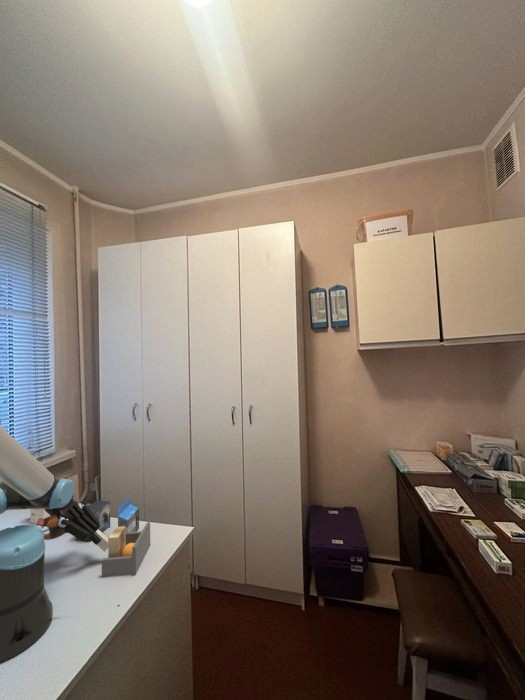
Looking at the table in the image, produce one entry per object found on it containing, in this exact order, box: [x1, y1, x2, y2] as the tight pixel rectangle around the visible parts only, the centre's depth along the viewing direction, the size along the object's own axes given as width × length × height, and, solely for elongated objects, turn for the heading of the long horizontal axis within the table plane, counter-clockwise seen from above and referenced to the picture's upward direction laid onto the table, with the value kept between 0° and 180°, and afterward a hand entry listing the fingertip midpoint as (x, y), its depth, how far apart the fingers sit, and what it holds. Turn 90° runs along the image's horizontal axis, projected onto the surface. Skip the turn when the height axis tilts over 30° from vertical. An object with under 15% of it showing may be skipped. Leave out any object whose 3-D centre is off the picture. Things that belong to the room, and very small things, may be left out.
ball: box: [122, 543, 135, 557], centre depth 93 cm, size 5×5×5 cm
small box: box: [75, 499, 111, 543], centre depth 109 cm, size 11×6×10 cm, turn 168°
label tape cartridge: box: [117, 498, 140, 532], centre depth 107 cm, size 9×4×12 cm, turn 178°
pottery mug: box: [40, 515, 73, 541], centre depth 111 cm, size 12×10×8 cm
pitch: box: [101, 521, 151, 578], centre depth 93 cm, size 15×24×8 cm, turn 95°
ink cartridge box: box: [30, 509, 51, 526], centre depth 120 cm, size 9×5×15 cm, turn 70°
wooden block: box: [107, 526, 126, 558], centre depth 93 cm, size 6×3×9 cm, turn 5°
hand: (108, 546), depth 93 cm, fingers closed
